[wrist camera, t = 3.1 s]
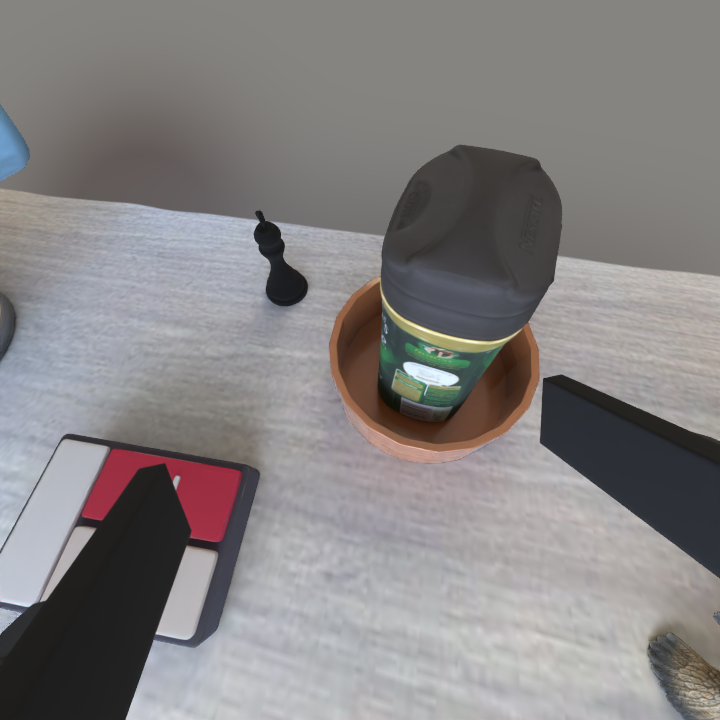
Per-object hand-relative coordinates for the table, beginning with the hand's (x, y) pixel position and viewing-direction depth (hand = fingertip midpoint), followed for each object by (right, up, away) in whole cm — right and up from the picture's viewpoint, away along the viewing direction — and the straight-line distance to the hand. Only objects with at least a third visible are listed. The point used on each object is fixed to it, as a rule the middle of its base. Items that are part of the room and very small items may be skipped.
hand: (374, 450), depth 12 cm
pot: (+5, +2, +19) cm, 20 cm away
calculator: (-17, -10, +15) cm, 24 cm away
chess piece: (-8, +11, +24) cm, 28 cm away
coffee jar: (+5, +2, +19) cm, 20 cm away
